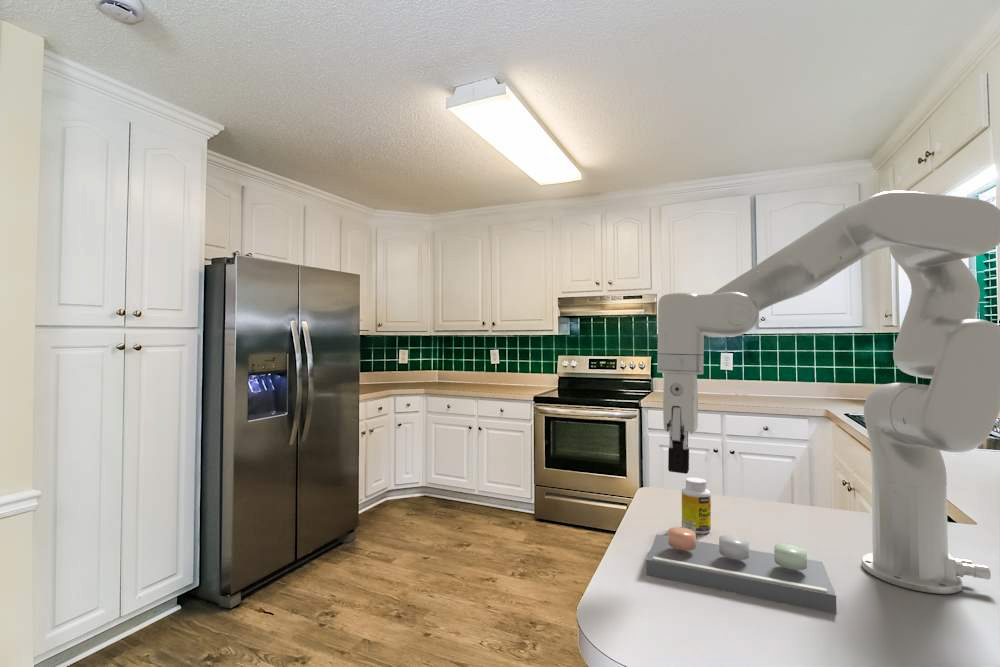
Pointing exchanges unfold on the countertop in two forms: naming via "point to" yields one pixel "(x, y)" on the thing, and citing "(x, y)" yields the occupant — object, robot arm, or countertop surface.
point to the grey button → (734, 547)
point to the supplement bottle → (696, 506)
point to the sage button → (790, 556)
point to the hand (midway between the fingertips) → (678, 471)
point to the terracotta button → (682, 538)
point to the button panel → (743, 574)
